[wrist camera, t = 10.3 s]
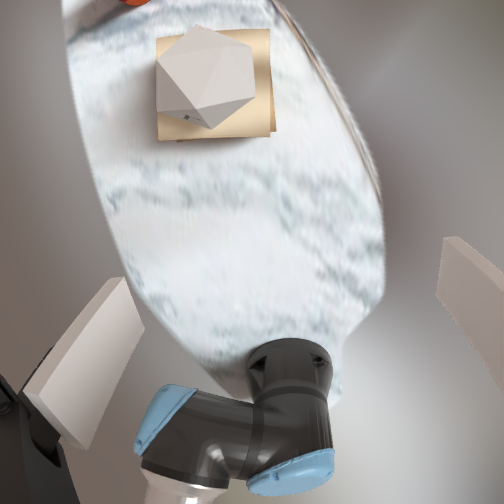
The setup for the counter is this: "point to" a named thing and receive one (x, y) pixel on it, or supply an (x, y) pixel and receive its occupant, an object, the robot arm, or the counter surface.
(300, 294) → the counter surface
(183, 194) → the counter surface
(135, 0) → the paper cup
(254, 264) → the counter surface
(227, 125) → the tower top slab
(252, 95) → the die
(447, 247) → the robot arm
